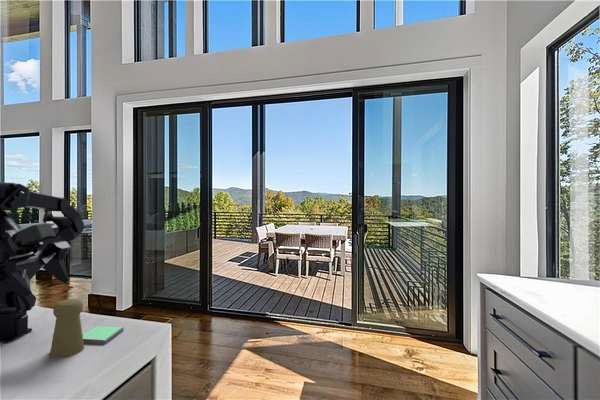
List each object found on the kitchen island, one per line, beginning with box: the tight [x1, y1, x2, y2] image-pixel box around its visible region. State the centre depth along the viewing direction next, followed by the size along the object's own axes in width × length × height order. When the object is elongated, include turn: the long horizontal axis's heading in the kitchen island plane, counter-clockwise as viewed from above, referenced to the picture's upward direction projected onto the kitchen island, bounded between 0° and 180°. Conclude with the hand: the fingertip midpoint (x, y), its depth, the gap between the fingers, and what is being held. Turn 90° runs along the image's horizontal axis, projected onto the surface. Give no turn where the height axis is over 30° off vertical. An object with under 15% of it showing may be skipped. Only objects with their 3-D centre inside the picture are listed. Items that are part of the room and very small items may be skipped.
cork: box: [49, 298, 85, 359], centre depth 69 cm, size 6×6×11 cm
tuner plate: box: [82, 325, 124, 345], centre depth 76 cm, size 7×7×1 cm
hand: (49, 288), depth 69 cm, fingers open, 9 cm apart
